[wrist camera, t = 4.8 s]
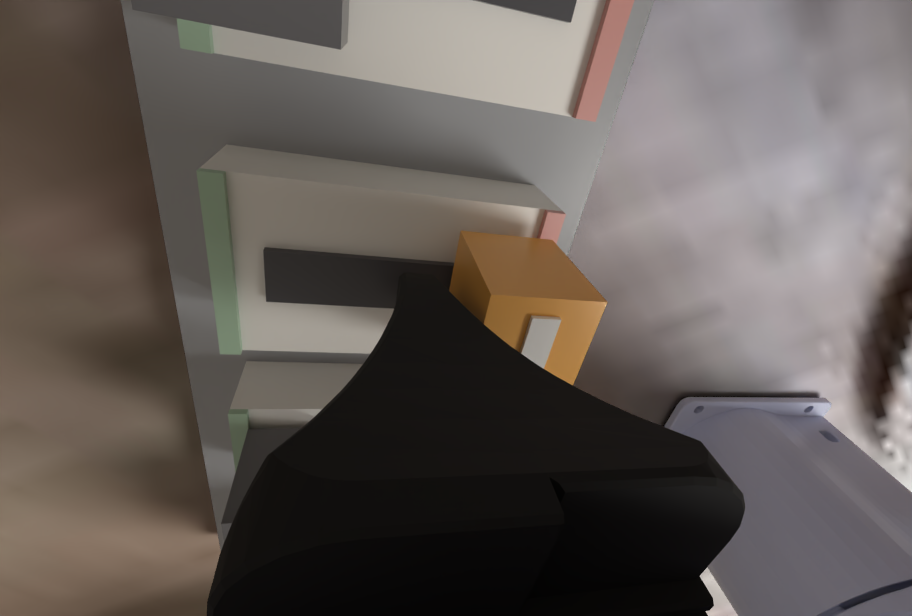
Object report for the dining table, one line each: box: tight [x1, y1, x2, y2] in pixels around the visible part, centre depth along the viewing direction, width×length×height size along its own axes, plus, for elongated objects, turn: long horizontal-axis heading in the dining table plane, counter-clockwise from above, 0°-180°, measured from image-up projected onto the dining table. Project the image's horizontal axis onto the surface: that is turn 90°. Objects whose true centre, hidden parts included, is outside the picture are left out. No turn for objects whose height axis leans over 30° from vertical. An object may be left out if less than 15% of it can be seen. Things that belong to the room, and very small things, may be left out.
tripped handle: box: [449, 231, 608, 385], centre depth 10 cm, size 2×4×3 cm, turn 170°
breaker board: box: [121, 0, 654, 550], centre depth 13 cm, size 12×26×7 cm, turn 170°
